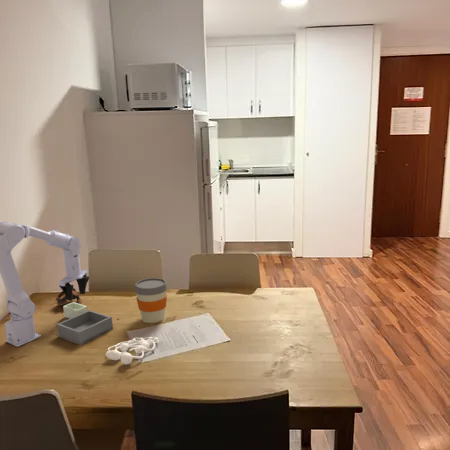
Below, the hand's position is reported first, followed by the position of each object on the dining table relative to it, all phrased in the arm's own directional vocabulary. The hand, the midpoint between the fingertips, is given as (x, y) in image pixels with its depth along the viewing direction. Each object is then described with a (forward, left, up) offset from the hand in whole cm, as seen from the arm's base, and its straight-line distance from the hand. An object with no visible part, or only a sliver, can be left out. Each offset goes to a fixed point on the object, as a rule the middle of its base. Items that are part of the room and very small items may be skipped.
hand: (76, 296), depth 182 cm
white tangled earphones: (-9, -41, -9) cm, 43 cm away
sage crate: (-1, 0, -9) cm, 9 cm away
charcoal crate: (-8, -15, -9) cm, 19 cm away
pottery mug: (+7, +15, -9) cm, 19 cm away
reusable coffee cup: (+15, -28, -9) cm, 33 cm away
